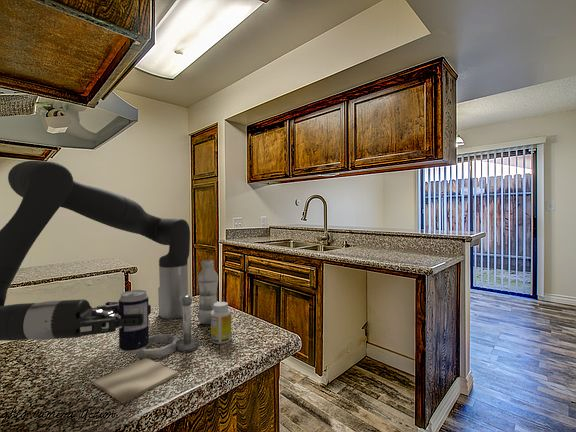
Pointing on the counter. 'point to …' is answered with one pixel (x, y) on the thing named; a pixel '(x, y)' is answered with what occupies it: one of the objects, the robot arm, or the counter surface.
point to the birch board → (134, 379)
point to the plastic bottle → (207, 291)
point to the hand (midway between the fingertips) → (146, 314)
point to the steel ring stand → (173, 337)
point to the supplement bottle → (220, 323)
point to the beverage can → (134, 336)
